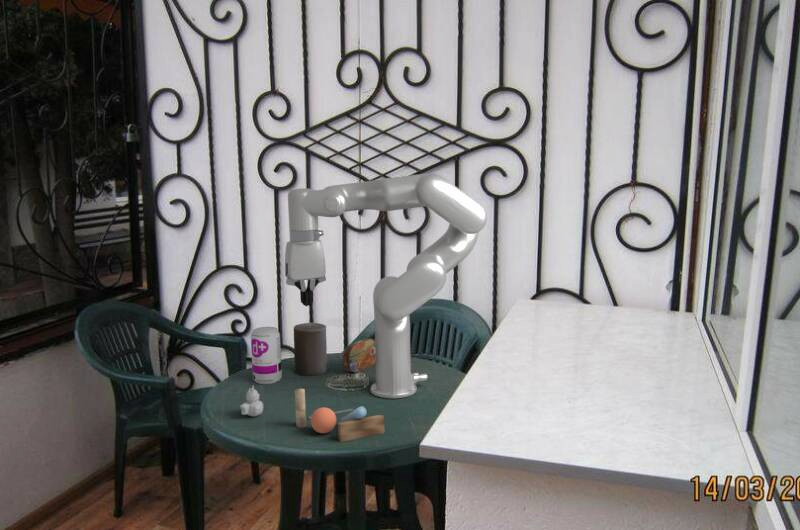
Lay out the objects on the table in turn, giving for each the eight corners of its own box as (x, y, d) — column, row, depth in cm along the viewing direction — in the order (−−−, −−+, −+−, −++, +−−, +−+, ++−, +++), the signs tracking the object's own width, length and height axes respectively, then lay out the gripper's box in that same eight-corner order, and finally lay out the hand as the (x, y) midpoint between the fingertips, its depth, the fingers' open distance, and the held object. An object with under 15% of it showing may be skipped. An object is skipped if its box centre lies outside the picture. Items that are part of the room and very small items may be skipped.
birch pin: (304, 423, 176) (302, 387, 175) (307, 426, 174) (306, 390, 173) (294, 424, 175) (293, 389, 174) (298, 428, 173) (296, 392, 172)
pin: (348, 417, 175) (366, 406, 168) (349, 427, 174) (367, 416, 167) (339, 417, 173) (356, 406, 167) (340, 427, 172) (357, 416, 166)
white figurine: (269, 414, 182) (267, 384, 181) (248, 422, 177) (246, 391, 176) (255, 409, 186) (253, 380, 184) (234, 417, 181) (232, 387, 179)
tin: (350, 376, 211) (349, 348, 209) (341, 374, 212) (340, 346, 211) (379, 362, 223) (378, 336, 222) (371, 360, 225) (370, 334, 223)
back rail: (381, 430, 171) (381, 414, 170) (384, 432, 169) (384, 416, 169) (338, 439, 166) (337, 423, 165) (340, 442, 165) (340, 425, 164)
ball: (344, 419, 172) (330, 399, 171) (336, 431, 166) (322, 410, 166) (324, 429, 174) (311, 409, 173) (316, 441, 168) (302, 420, 168)
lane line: (352, 409, 185) (352, 408, 185) (353, 410, 184) (353, 409, 184) (307, 417, 180) (307, 417, 179) (309, 419, 179) (308, 418, 179)
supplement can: (268, 386, 203) (266, 335, 200) (247, 381, 207) (244, 331, 205) (287, 378, 210) (285, 328, 207) (266, 373, 214) (263, 324, 211)
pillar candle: (295, 377, 210) (294, 327, 208) (293, 366, 220) (292, 319, 217) (329, 374, 212) (328, 325, 210) (325, 364, 222) (324, 317, 219)
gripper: (326, 232, 194) (328, 299, 198) (272, 236, 188) (275, 305, 191) (336, 235, 188) (338, 304, 191) (280, 240, 181) (283, 311, 185)
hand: (307, 304), depth 191 cm, fingers closed
